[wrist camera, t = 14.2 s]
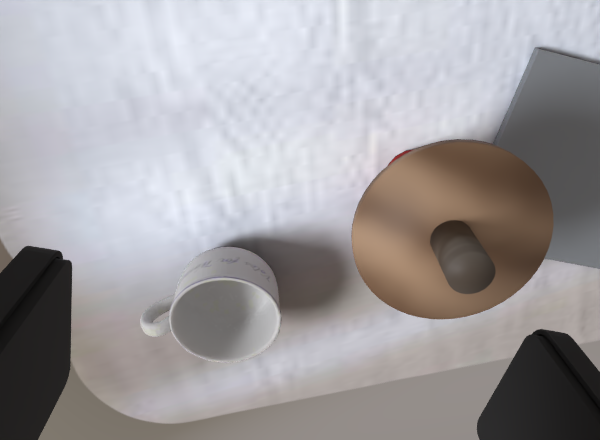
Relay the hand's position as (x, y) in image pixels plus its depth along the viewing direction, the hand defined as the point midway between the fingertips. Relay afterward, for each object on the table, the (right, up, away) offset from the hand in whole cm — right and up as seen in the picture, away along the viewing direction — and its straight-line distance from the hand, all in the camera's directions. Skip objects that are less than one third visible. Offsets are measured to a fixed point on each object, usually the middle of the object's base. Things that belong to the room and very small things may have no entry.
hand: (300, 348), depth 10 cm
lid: (+12, +2, +27) cm, 30 cm away
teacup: (-9, -4, +43) cm, 44 cm away
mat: (+28, +8, +39) cm, 49 cm away
